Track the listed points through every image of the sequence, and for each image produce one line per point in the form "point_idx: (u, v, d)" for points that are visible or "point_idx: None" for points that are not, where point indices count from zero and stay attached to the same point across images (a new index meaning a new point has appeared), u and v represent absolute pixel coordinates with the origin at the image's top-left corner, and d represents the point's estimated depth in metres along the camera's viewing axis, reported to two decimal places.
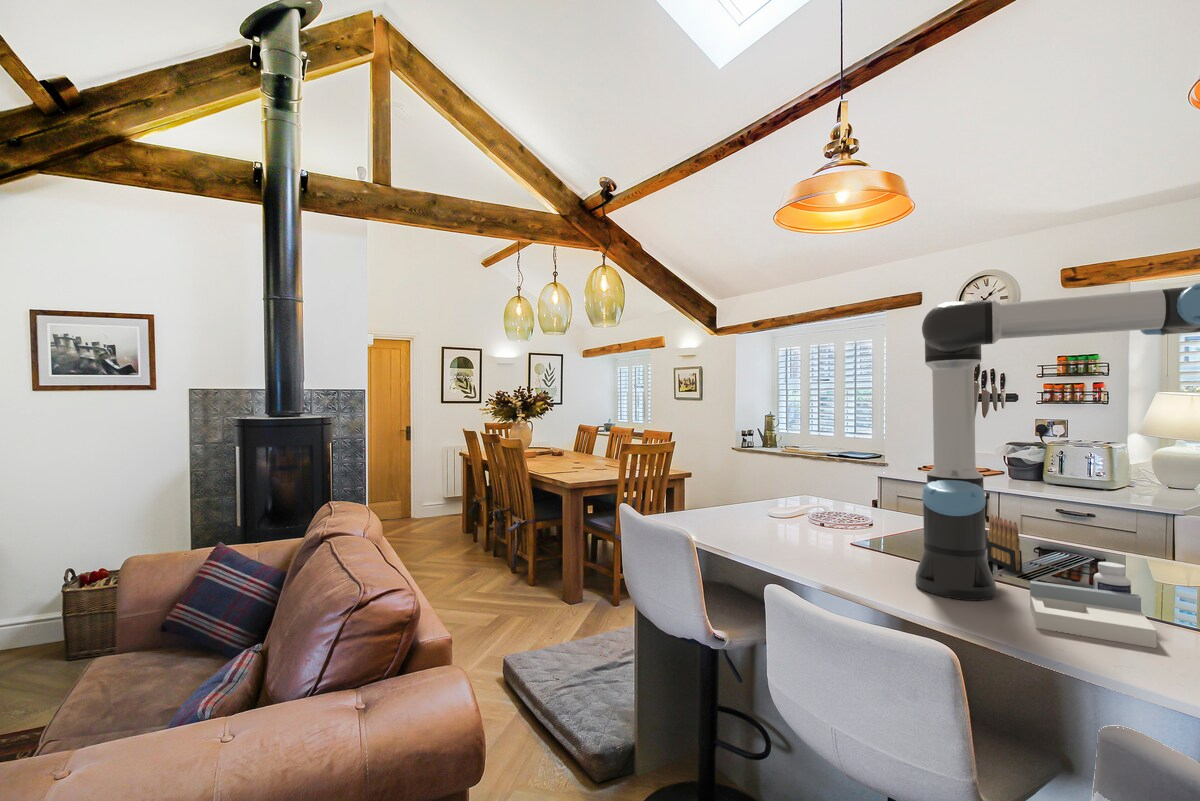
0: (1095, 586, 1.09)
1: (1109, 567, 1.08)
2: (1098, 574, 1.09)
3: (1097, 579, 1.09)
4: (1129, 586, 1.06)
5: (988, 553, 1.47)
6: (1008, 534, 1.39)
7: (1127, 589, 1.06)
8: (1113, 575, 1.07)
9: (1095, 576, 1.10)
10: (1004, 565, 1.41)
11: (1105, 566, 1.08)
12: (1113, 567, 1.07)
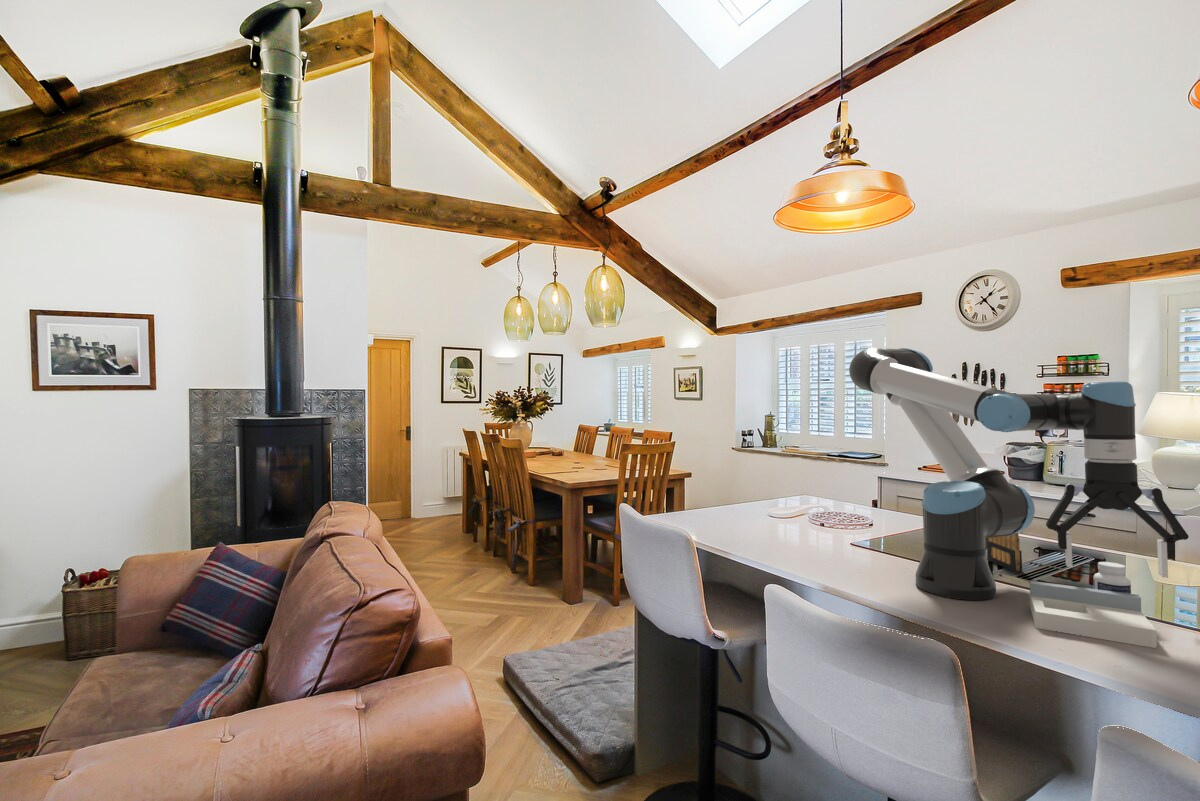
0: (1095, 586, 1.09)
1: (1109, 567, 1.08)
2: (1098, 574, 1.09)
3: (1097, 579, 1.09)
4: (1129, 586, 1.06)
5: (988, 553, 1.47)
6: None
7: (1127, 589, 1.06)
8: (1113, 575, 1.07)
9: (1095, 576, 1.10)
10: (1004, 565, 1.41)
11: (1105, 566, 1.08)
12: (1113, 567, 1.07)
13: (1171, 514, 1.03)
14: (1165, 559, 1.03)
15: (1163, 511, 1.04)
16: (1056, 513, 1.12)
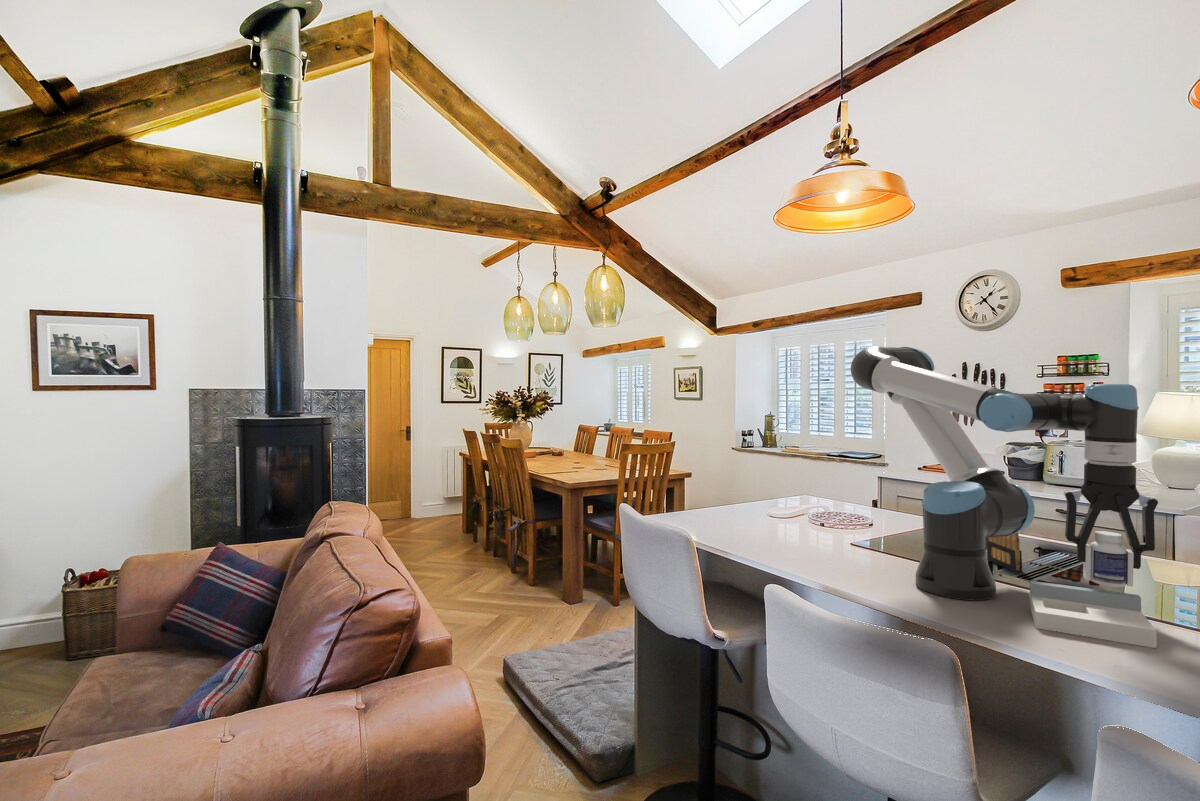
0: (1091, 555, 1.10)
1: (1106, 536, 1.08)
2: (1094, 543, 1.10)
3: (1093, 547, 1.10)
4: (1125, 554, 1.07)
5: (988, 553, 1.47)
6: None
7: (1123, 558, 1.07)
8: (1110, 543, 1.08)
9: (1091, 545, 1.10)
10: (1004, 565, 1.41)
11: (1102, 535, 1.09)
12: (1110, 536, 1.08)
13: (1152, 525, 1.05)
14: (1131, 569, 1.06)
15: (1147, 520, 1.05)
16: (1069, 524, 1.12)
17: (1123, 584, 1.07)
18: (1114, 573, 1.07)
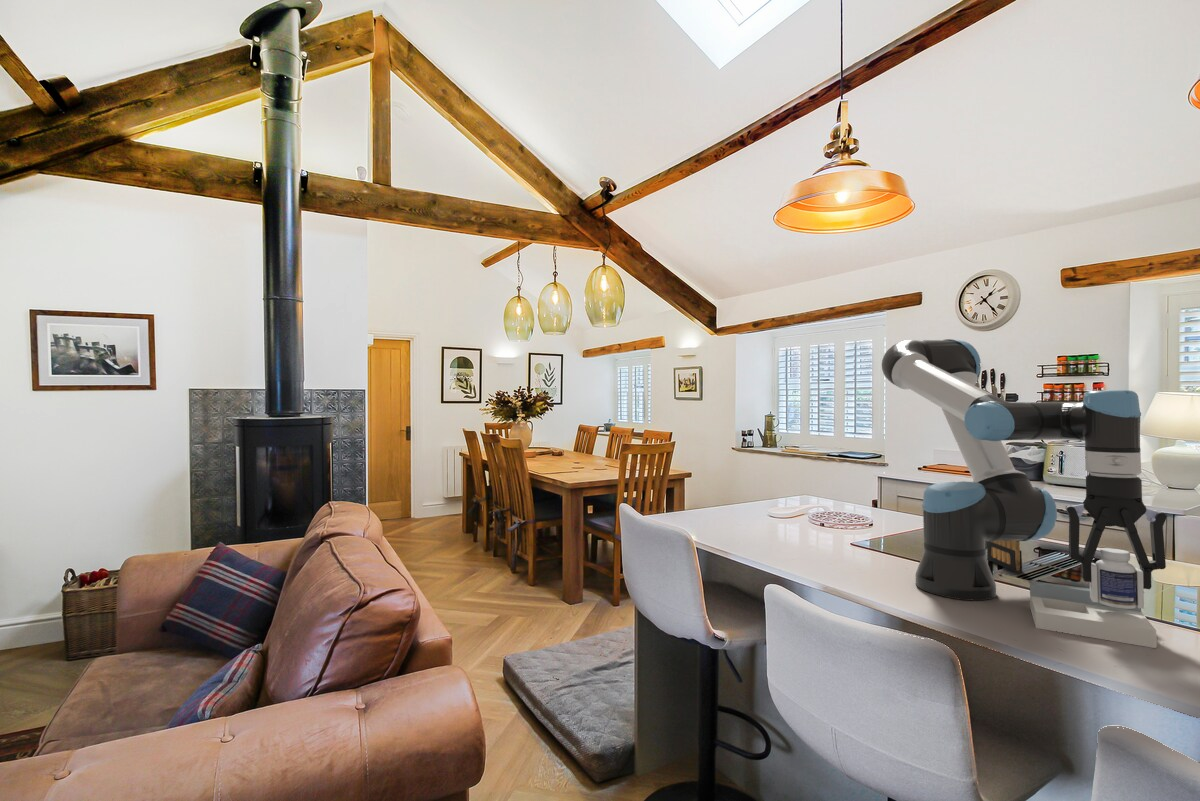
0: (1097, 574, 1.02)
1: (1112, 553, 1.00)
2: (1100, 561, 1.02)
3: (1099, 566, 1.02)
4: (1134, 573, 0.99)
5: (988, 553, 1.47)
6: None
7: (1132, 577, 0.99)
8: (1117, 562, 1.00)
9: (1097, 563, 1.02)
10: (1004, 565, 1.41)
11: (1108, 552, 1.01)
12: (1116, 553, 1.00)
13: (1162, 542, 0.97)
14: (1141, 589, 0.99)
15: (1155, 536, 0.98)
16: (1072, 541, 1.04)
17: (1134, 606, 0.99)
18: (1122, 594, 0.99)
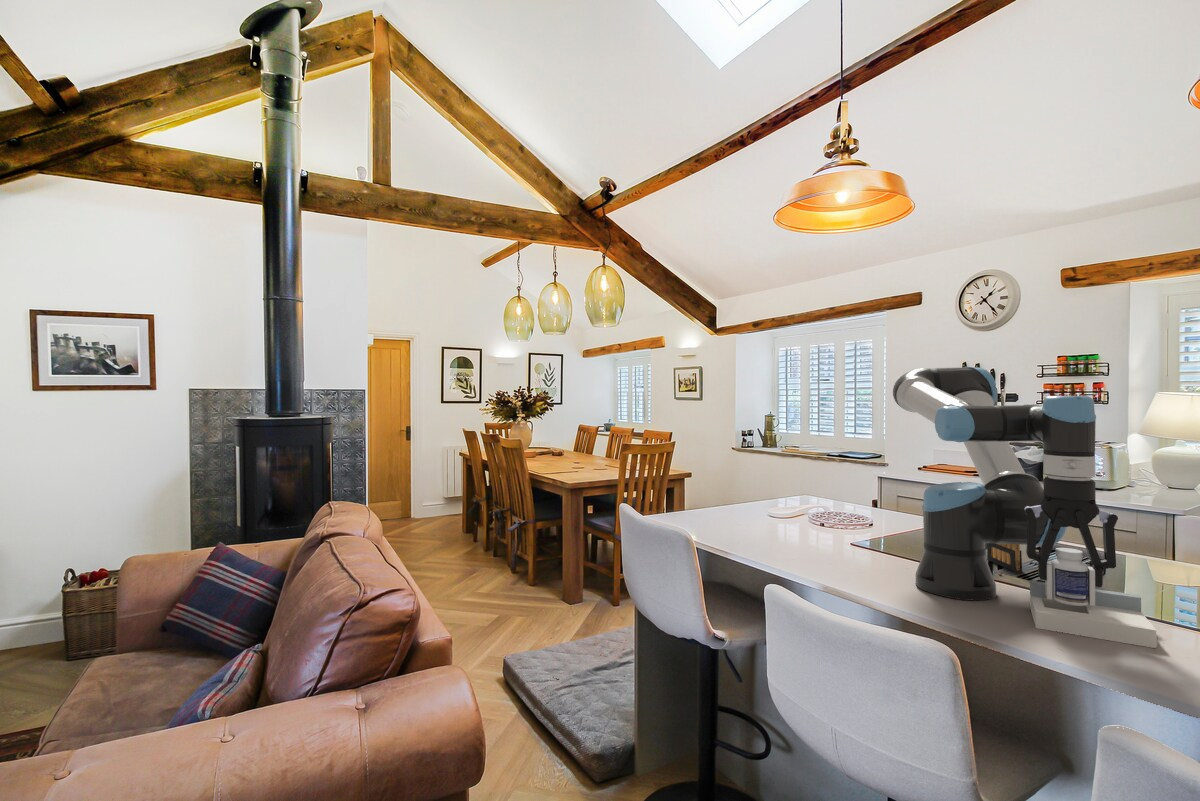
0: (1052, 572, 1.06)
1: (1066, 553, 1.04)
2: (1055, 560, 1.06)
3: (1054, 565, 1.06)
4: (1086, 572, 1.03)
5: (988, 553, 1.47)
6: None
7: (1084, 576, 1.03)
8: (1070, 561, 1.04)
9: (1052, 562, 1.06)
10: (1004, 565, 1.41)
11: (1062, 552, 1.05)
12: (1070, 553, 1.04)
13: (1113, 542, 1.01)
14: (1093, 587, 1.03)
15: (1107, 537, 1.02)
16: (1029, 541, 1.08)
17: (1086, 603, 1.03)
18: (1075, 592, 1.03)
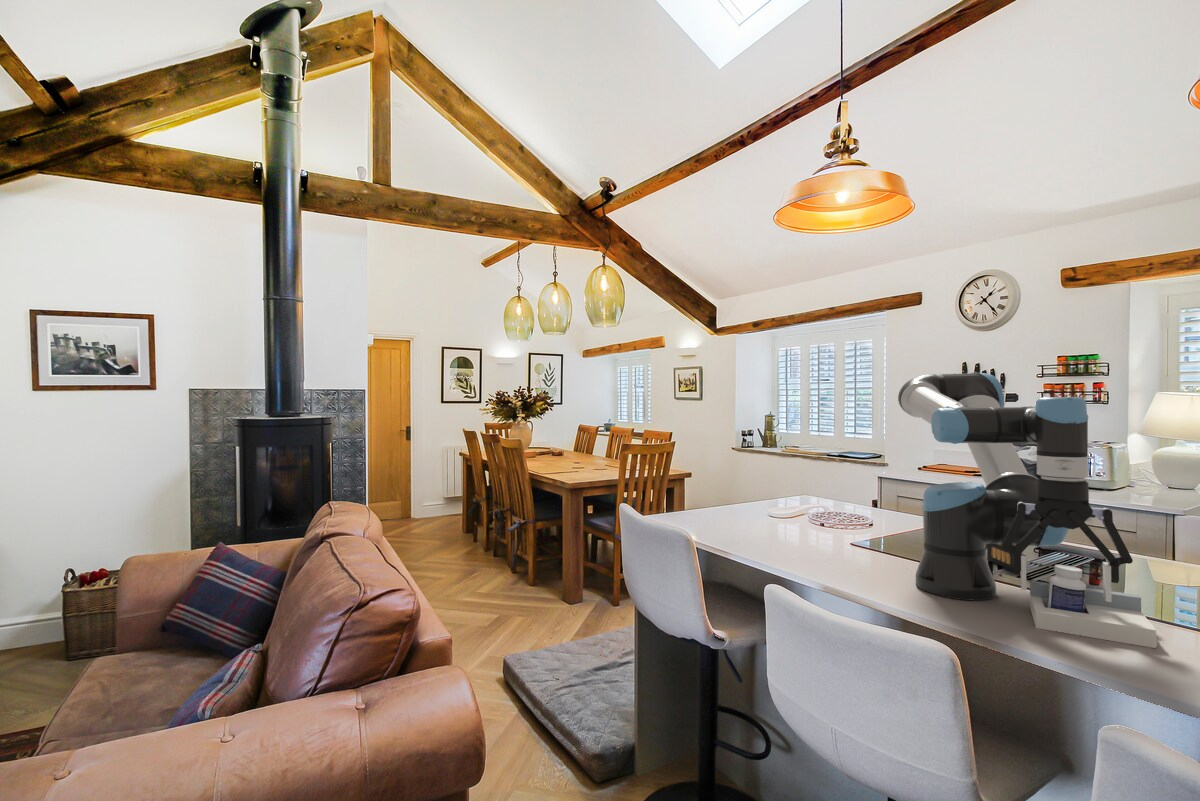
0: (1050, 589, 1.06)
1: (1065, 570, 1.04)
2: (1054, 577, 1.06)
3: (1052, 582, 1.06)
4: (1084, 591, 1.03)
5: (988, 553, 1.47)
6: None
7: (1081, 594, 1.03)
8: (1069, 578, 1.04)
9: (1051, 578, 1.06)
10: (1004, 565, 1.41)
11: (1061, 569, 1.05)
12: (1069, 570, 1.04)
13: (1118, 537, 1.00)
14: (1109, 583, 1.01)
15: (1111, 533, 1.01)
16: (1010, 533, 1.09)
17: None
18: (1071, 610, 1.03)
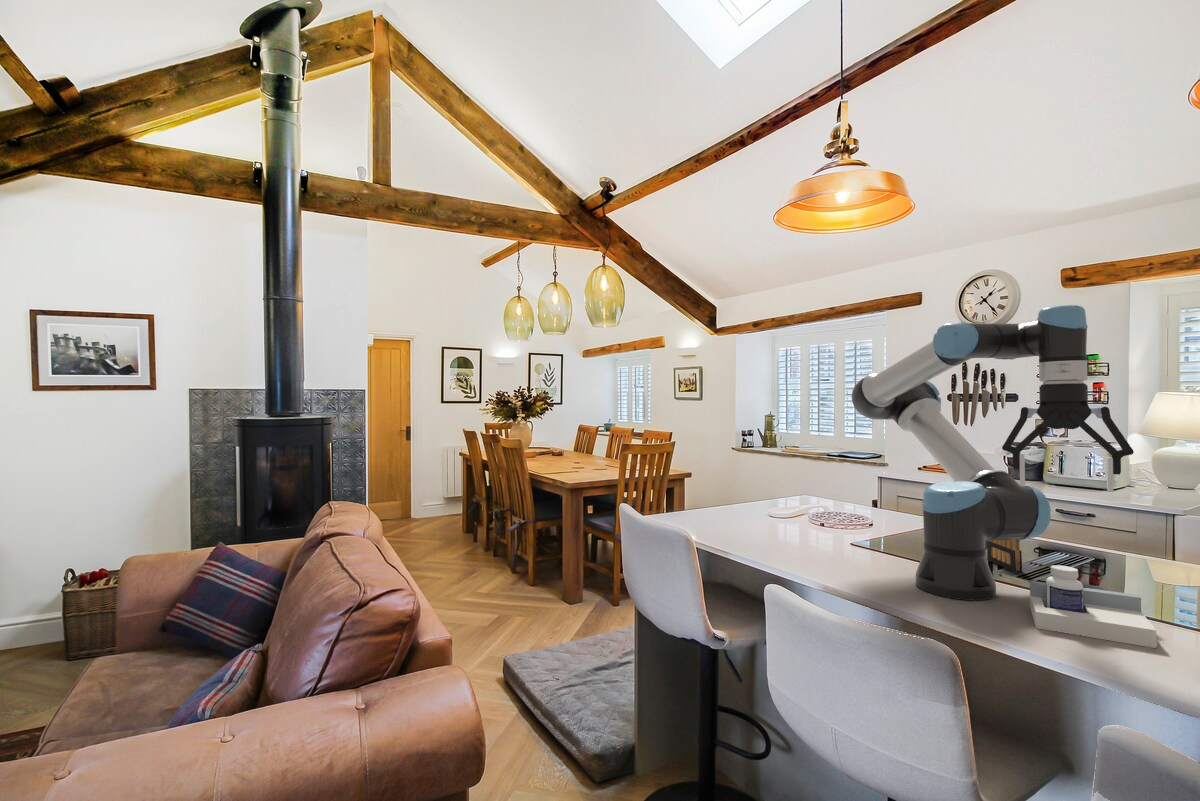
0: (1047, 590, 1.06)
1: (1061, 571, 1.04)
2: (1050, 578, 1.06)
3: (1049, 583, 1.06)
4: (1081, 591, 1.03)
5: (988, 553, 1.47)
6: None
7: (1079, 594, 1.03)
8: (1065, 579, 1.04)
9: (1047, 580, 1.06)
10: (1004, 565, 1.41)
11: (1057, 570, 1.05)
12: (1065, 571, 1.04)
13: (1118, 431, 1.07)
14: (1111, 474, 1.08)
15: (1110, 428, 1.08)
16: (1010, 435, 1.17)
17: None
18: (1070, 610, 1.03)
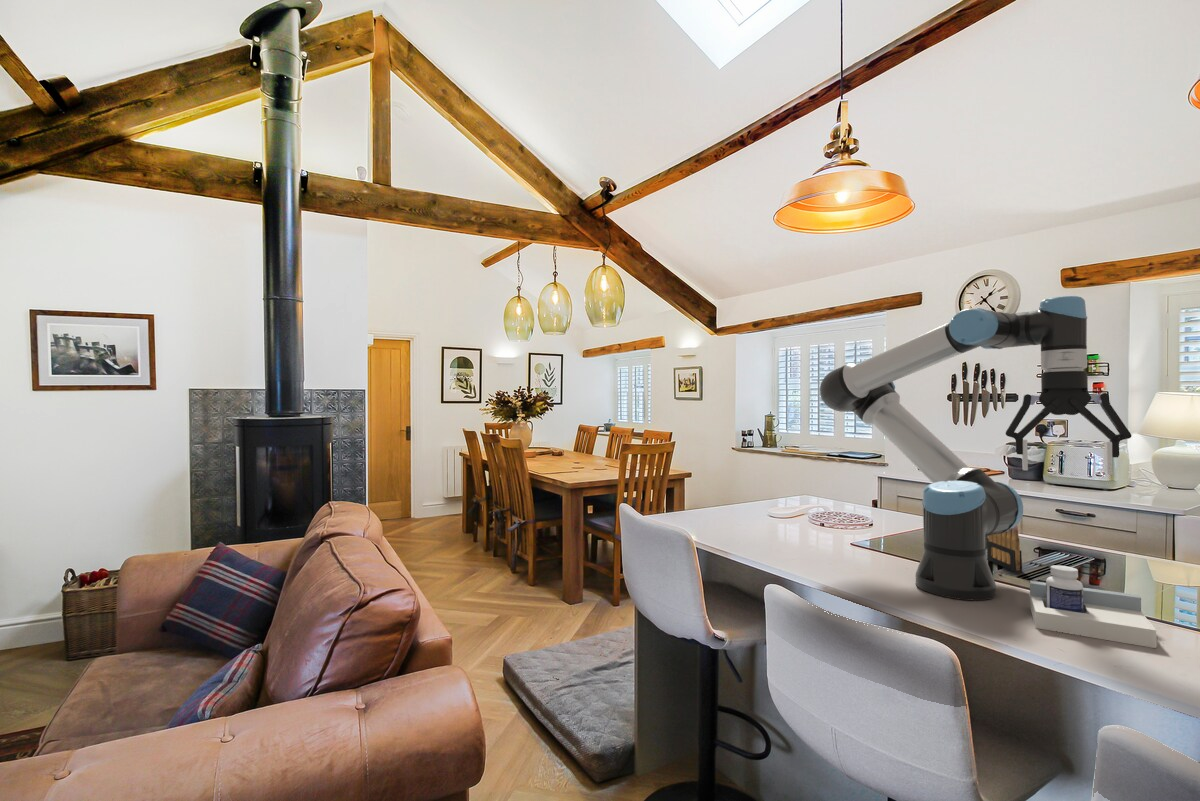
0: (1047, 590, 1.06)
1: (1061, 571, 1.04)
2: (1050, 578, 1.06)
3: (1049, 583, 1.06)
4: (1081, 590, 1.03)
5: (988, 553, 1.47)
6: (1008, 534, 1.39)
7: (1079, 594, 1.03)
8: (1065, 579, 1.04)
9: (1047, 580, 1.06)
10: (1004, 565, 1.41)
11: (1057, 570, 1.05)
12: (1065, 571, 1.04)
13: (1116, 416, 1.12)
14: (1110, 457, 1.13)
15: (1109, 413, 1.13)
16: (1014, 421, 1.21)
17: None
18: (1070, 610, 1.03)
